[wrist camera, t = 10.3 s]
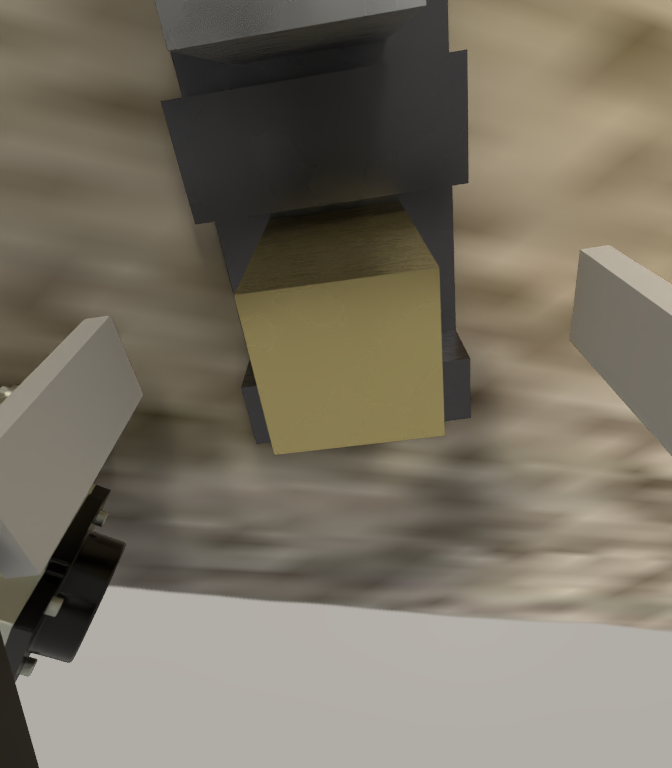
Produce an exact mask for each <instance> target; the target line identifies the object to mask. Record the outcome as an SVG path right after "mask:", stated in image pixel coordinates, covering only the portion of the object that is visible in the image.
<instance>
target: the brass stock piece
mask: <svg viewBox="0 0 672 768" xmlns="http://www.w3.org/2000/svg"><path fill="white" fill-rule="evenodd" d="M234 297H235V301H236V305H237V309H238V313H239V317H240V321H241V325H242V329H243V333H244V337H245V341H246V345H247V349H248V353H249V357H250V361H251V364H252V368H253V372H254V376H255V380H256V384H257V388H258V392H259V396H260V400H261V404H262V408H263V412H264V416H265V420H266V424H267V428H268V432H269V436H270V440H271V444H272V448H273V452H274V455H278V454H287V453H296V452H305V451H314V450H322V449H331V448H340V447H349V446H357V445H366V444H375V443H384V442H393V441H401V440H410V439H419V438H428V437H437V436H445V426H444V395H443V365H442V334H441V304H440V273H439V266H438V264H437V263H436V261H435V259H434V258H433V256H432V254H431V253H430V251H429V249H428V248H427V246H426V244H425V243H424V241H423V239H422V238H421V236H420V234H419V233H418V231H417V229H416V228H415V226H414V224H413V223H412V221H411V219H410V218H409V216H408V214H407V212H406V211H405V209H404V207H403V206H402V204H401V202H400V201H399V202H392V203H385V204H378V205H371V206H364V207H357V208H350V209H343V210H336V211H330V212H323V213H316V214H309V215H302V216H295V217H288V218H281V219H274V220H269V221H268V223H267V225H266V227H265V230H264V232H263V234H262V236H261V238H260V240H259V243H258V245H257V247H256V249H255V251H254V253H253V255H252V258H251V260H250V262H249V264H248V266H247V268H246V270H245V273H244V275H243V277H242V279H241V281H240V283H239V285H238V288H237V290H236V292H235V294H234Z"/></svg>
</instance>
